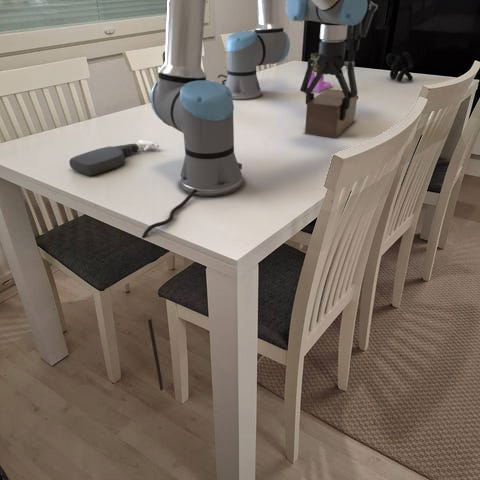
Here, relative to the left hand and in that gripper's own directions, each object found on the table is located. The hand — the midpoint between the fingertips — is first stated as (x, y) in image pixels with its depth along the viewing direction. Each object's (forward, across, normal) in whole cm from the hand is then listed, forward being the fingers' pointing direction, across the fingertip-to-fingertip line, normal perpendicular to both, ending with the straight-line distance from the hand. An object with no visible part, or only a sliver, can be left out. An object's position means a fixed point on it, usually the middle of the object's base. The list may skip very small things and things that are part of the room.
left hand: (326, 117), depth 140 cm
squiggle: (+5, -6, -82) cm, 82 cm away
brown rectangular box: (+5, 0, -5) cm, 7 cm away
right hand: (-13, 0, -21) cm, 25 cm away
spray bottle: (+5, +44, +48) cm, 65 cm away
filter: (+5, +62, -4) cm, 62 cm away
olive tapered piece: (+5, +34, -85) cm, 92 cm away
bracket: (+5, +21, -53) cm, 57 cm away
